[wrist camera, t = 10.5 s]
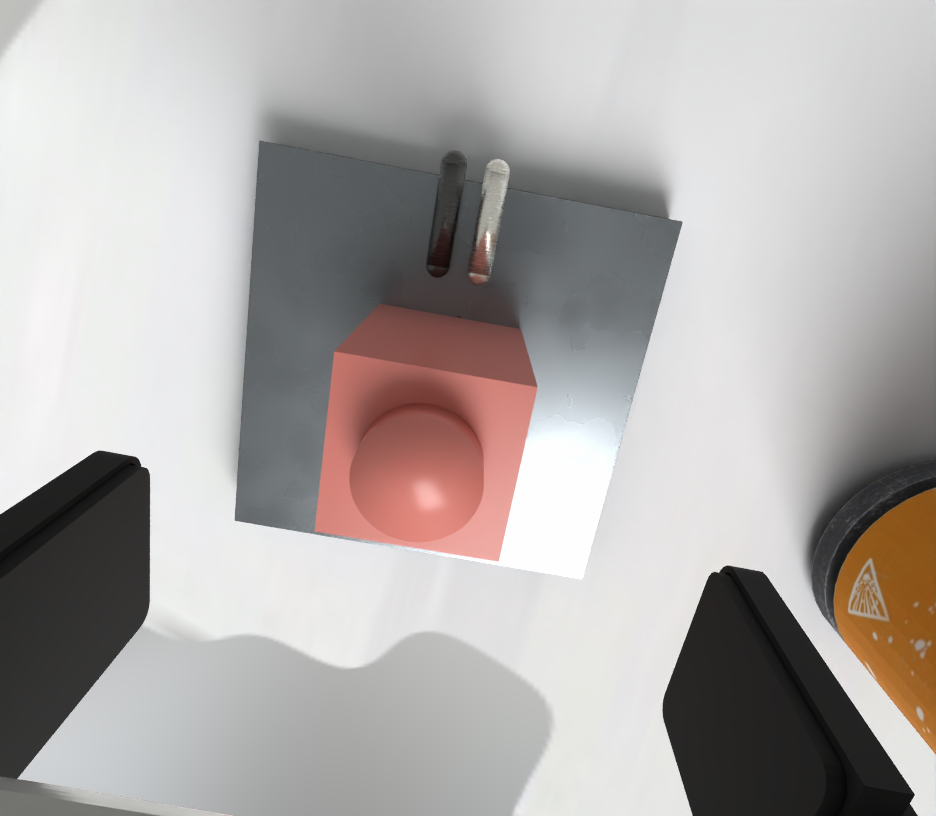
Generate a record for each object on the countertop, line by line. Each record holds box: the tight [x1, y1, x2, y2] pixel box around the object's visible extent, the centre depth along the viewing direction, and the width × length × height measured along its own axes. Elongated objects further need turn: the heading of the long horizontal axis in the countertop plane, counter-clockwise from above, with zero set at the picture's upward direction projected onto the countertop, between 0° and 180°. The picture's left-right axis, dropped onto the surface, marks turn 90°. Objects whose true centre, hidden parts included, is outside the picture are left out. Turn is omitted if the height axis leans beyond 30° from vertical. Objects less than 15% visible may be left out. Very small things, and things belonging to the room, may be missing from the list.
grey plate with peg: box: [235, 141, 682, 579], centre depth 21 cm, size 15×14×6 cm
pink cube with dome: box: [315, 304, 538, 562], centre depth 19 cm, size 5×5×8 cm
